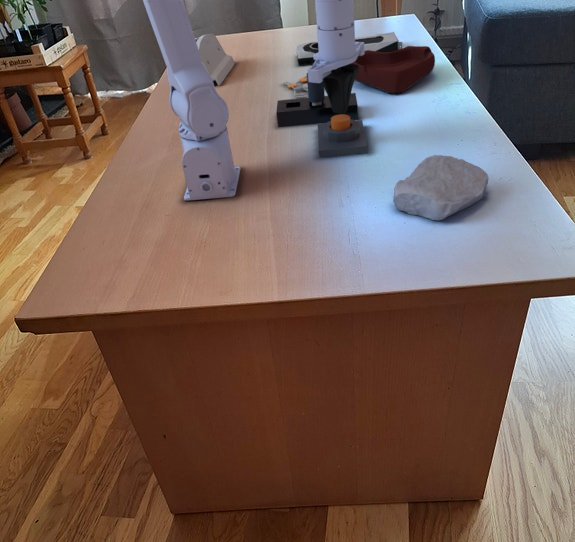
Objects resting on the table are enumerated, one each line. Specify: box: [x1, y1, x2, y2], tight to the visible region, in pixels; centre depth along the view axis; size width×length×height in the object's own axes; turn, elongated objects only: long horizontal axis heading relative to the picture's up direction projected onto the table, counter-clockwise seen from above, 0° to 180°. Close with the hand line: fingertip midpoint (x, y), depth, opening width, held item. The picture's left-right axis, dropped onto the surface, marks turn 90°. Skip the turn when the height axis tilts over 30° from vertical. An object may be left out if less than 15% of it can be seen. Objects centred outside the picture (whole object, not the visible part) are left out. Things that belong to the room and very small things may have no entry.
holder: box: [275, 92, 359, 128], centre depth 104 cm, size 6×15×3 cm, turn 88°
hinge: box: [195, 33, 236, 87], centre depth 131 cm, size 17×5×10 cm, turn 172°
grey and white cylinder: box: [306, 72, 326, 106], centre depth 102 cm, size 3×3×8 cm
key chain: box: [283, 75, 308, 97], centre depth 119 cm, size 13×7×1 cm, turn 9°
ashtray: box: [351, 45, 436, 95], centre depth 114 cm, size 18×16×5 cm
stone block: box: [392, 154, 489, 221], centre depth 76 cm, size 12×5×10 cm
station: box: [317, 119, 369, 159], centre depth 94 cm, size 11×8×3 cm
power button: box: [331, 114, 350, 131], centre depth 93 cm, size 3×3×2 cm
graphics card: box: [295, 31, 403, 67], centre depth 133 cm, size 10×3×25 cm
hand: (340, 111), depth 92 cm, fingers closed
